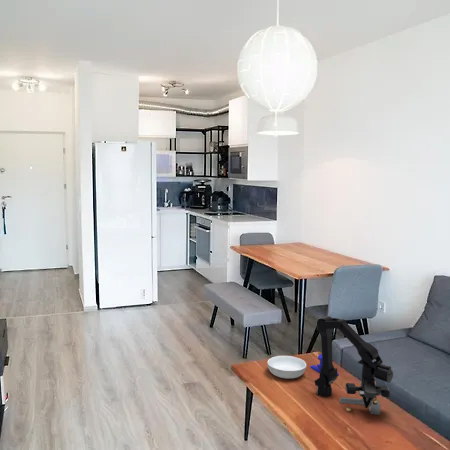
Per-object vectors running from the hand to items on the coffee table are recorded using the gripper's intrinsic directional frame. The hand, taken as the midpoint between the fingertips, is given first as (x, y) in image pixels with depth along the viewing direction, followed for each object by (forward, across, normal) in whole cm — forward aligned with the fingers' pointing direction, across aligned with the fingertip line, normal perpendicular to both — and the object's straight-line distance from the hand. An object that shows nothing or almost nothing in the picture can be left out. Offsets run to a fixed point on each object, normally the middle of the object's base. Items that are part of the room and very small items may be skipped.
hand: (366, 407), depth 211 cm
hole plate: (+3, -2, +1) cm, 4 cm away
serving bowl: (+3, -36, +36) cm, 51 cm away
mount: (+3, -15, +44) cm, 47 cm away
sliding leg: (+2, +4, +2) cm, 5 cm away
